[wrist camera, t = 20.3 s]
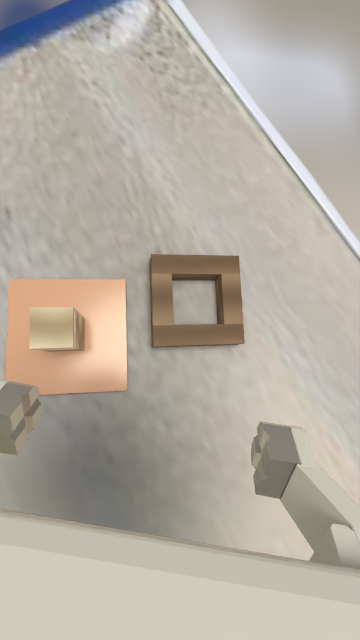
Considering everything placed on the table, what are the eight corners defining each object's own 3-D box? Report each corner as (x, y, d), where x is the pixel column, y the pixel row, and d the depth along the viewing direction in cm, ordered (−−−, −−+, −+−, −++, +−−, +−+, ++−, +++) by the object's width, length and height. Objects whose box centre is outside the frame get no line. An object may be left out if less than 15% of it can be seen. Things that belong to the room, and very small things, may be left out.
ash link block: (85, 351, 38) (73, 347, 30) (49, 352, 38) (28, 349, 30) (85, 317, 39) (73, 306, 31) (50, 318, 38) (29, 306, 30)
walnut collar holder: (236, 344, 42) (244, 343, 39) (151, 347, 41) (153, 346, 38) (231, 263, 44) (238, 255, 41) (149, 262, 42) (151, 254, 39)
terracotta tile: (127, 389, 39) (127, 390, 38) (7, 395, 37) (4, 396, 36) (125, 281, 41) (125, 279, 40) (11, 281, 39) (8, 279, 38)
